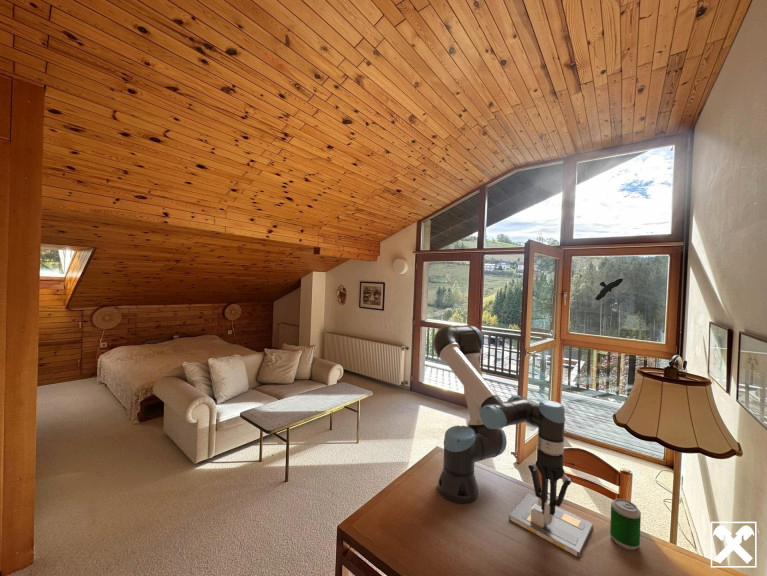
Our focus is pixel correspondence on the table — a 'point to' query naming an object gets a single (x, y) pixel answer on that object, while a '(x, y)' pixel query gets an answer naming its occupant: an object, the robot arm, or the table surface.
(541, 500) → the slider far
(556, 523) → the switch board
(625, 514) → the soda can
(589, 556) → the table surface
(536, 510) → the slider near
